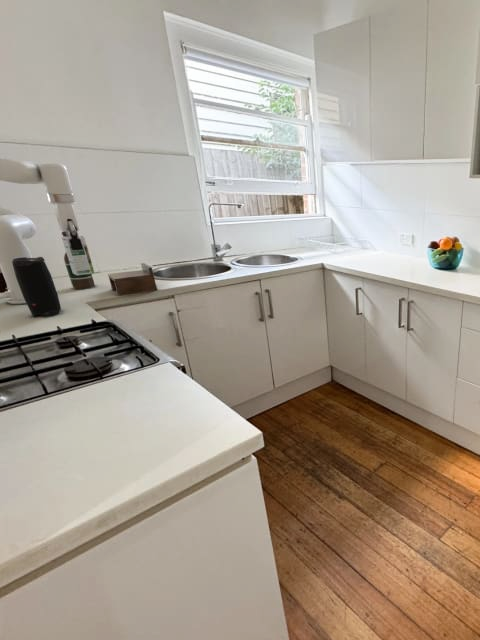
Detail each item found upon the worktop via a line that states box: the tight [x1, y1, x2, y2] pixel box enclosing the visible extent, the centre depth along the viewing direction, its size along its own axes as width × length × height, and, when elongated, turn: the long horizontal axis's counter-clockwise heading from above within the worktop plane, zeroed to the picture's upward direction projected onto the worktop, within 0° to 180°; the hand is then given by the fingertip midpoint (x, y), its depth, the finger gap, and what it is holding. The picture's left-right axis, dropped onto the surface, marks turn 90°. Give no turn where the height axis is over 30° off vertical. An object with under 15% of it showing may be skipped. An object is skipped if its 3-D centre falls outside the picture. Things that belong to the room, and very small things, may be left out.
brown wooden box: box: [107, 262, 158, 296], centre depth 165 cm, size 14×13×10 cm
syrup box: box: [61, 235, 95, 275], centre depth 149 cm, size 6×6×14 cm
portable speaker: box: [12, 256, 62, 318], centre depth 131 cm, size 9×9×20 cm
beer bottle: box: [61, 231, 96, 290], centre depth 164 cm, size 8×8×24 cm
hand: (76, 248), depth 148 cm, fingers closed on syrup box, 6 cm apart
